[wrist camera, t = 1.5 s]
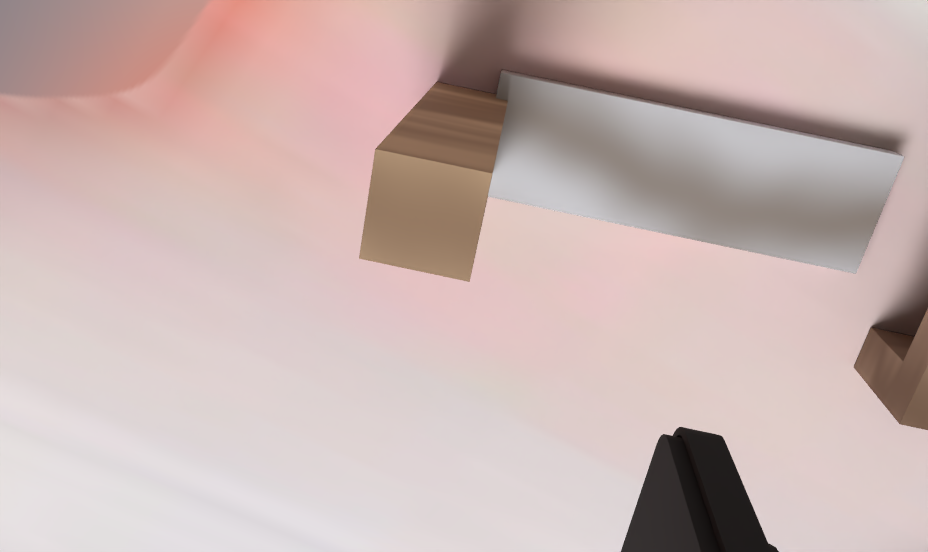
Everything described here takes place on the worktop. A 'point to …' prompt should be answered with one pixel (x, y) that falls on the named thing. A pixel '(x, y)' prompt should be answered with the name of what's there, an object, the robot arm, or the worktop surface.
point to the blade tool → (615, 175)
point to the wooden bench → (898, 372)
